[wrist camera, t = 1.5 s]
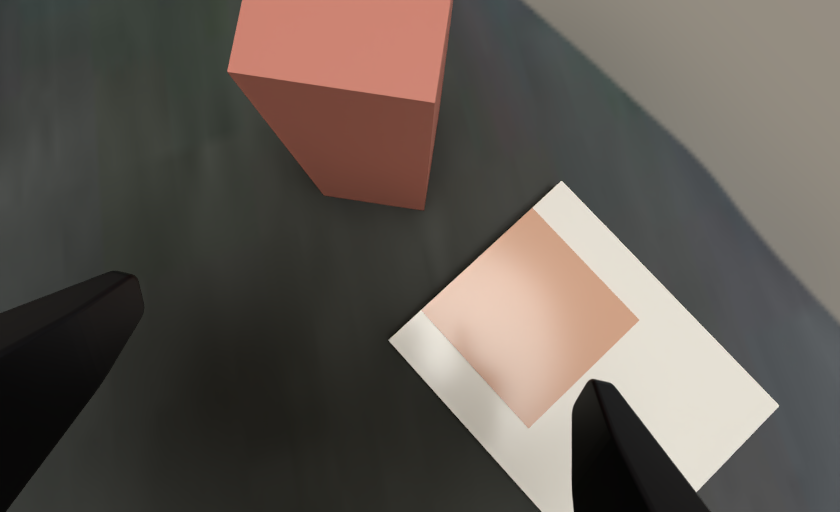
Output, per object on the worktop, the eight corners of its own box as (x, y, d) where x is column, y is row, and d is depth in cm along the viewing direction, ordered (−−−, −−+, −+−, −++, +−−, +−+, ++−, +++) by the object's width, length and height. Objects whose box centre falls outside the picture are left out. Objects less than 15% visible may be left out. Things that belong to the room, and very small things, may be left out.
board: (759, 400, 22) (782, 406, 21) (596, 569, 21) (609, 587, 20) (554, 187, 23) (562, 179, 22) (389, 338, 22) (388, 340, 21)
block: (424, 210, 23) (434, 102, 11) (324, 195, 23) (227, 72, 11) (438, 114, 24) (463, -86, 12) (341, 100, 24) (266, -115, 12)
